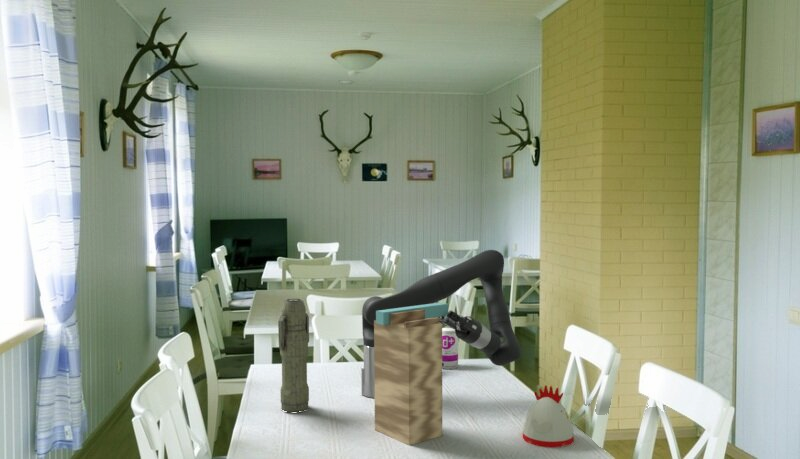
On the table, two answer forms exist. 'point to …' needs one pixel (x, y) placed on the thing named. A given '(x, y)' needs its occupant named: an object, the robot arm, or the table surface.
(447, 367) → the supplement can
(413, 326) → the stand
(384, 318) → the block
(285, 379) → the stone statue
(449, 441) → the table surface
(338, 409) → the table surface
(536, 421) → the kitchen timer
